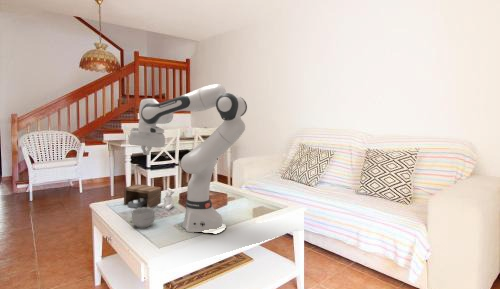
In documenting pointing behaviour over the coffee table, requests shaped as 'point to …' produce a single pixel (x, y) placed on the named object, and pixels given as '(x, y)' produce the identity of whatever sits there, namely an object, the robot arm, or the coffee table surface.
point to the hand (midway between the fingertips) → (146, 154)
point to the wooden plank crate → (143, 194)
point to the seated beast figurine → (167, 200)
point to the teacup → (143, 217)
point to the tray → (137, 203)
